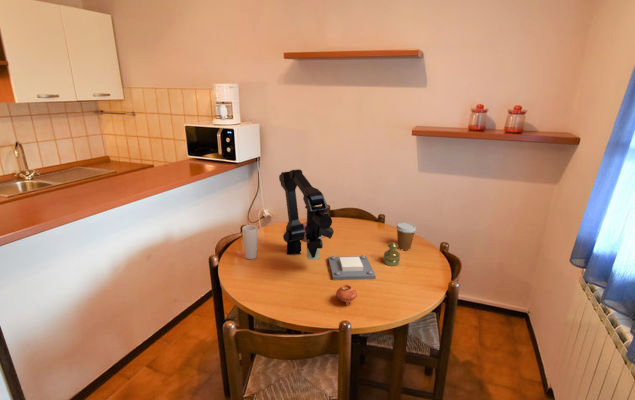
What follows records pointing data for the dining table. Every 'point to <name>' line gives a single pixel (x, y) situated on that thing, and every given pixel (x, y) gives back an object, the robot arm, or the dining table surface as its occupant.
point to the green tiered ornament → (392, 255)
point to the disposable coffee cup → (405, 235)
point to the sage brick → (311, 256)
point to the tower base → (351, 273)
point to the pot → (346, 293)
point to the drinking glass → (250, 241)
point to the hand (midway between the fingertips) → (312, 254)
